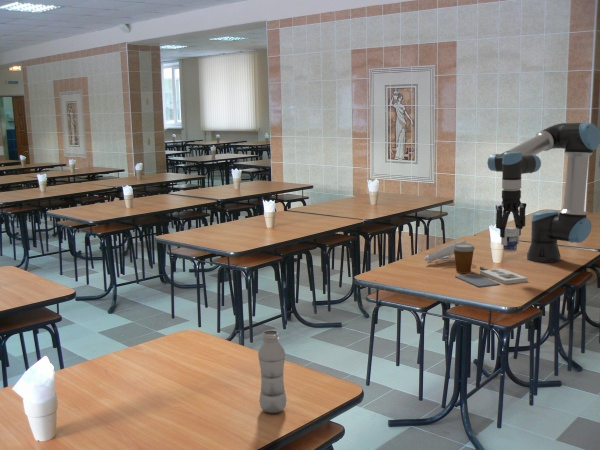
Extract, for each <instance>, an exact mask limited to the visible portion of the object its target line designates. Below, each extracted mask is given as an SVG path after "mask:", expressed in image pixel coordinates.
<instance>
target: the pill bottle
mask: <svg viewBox="0 0 600 450" xmlns="http://www.w3.org/2000/svg"><path fill="white" fill-rule="evenodd" d="M505 230H507V246H505V245H502V246H503V248H502V249H503V251H504V252H507V253H508V252H509V253H513V252H516V251H517V249H518V244H517V234H516V233H515V231H516V227H511V226H509V227H507V226H506V229H505Z"/></svg>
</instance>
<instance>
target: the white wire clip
mask: <svg viewBox="0 0 600 450" xmlns="http://www.w3.org/2000/svg"><path fill="white" fill-rule="evenodd" d="M458 243H467V241H466V240H465V239H463V240H461V241H458V242H456V241H454V242H452V243H449V244H447V245H444V246H442V247H440V248H438V249H436V250H435V251H432V252H430V253H428V254H427V255H426V256H424V259H423V260H424V261H425V262H427V263H429V264H430V263H432V262H434V261H436V260H439V261H436V263H435V265H436V266H437V265H438V264H441V263H442V262H453V263H455V258H450V257H452V256H453V255H454V249H453V247H454V244H458Z"/></svg>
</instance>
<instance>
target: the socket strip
mask: <svg viewBox="0 0 600 450" xmlns="http://www.w3.org/2000/svg"><path fill="white" fill-rule="evenodd" d="M479 269H480V270H479V272H480V273H479V274H480V276H482V277H485V278H487V279H490V280H492V281H495V282H497V283H501V284H504V285H508V284H509V285H510V284H511V285H512V284H518V283H519V284H520V283H526V282H528V277H526V276H524V275H522V274H518V273H515V272H513V271H511V270H508V269H504V268H494V269H493V268H492V269H488V268H486V267H483V266H479Z"/></svg>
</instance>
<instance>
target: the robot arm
mask: <svg viewBox="0 0 600 450" xmlns="http://www.w3.org/2000/svg"><path fill="white" fill-rule="evenodd" d="M599 145H600V131H599V128H598V127H597V125H595V124H594V123H591V122H590V123H589V122H562V123H557V124H553V125H552V126H548V127H545V128H544V129H542V130H540V131H538V132H537V133H536V134H535V136H534V137H533V136H532V138H530V139H527V140H526V141H523V142H522V143H519V144H518V145H516V146H514V147H512V148H510V149H508V150H505V151H504V152H502V153H494V154H490V155H489V156H488V159H487V163H486V164H487V167H488V170H490V171H492V172H497V173H500V172H501V173H502V176H501V177H502V180H501V189H502V190H501V199H502V201H501V203H500V204H496V205H495V209H496V214H495V228H496V229H499V237H500V238H501V239H500V240H501V241H500V243H501V245H502V246H503V245H505V246H507V230H506V228H507V224H508V222H509V216H510V215H511V213H512V216H513V221H514V225H515V228H516V231H515V233H516V234H517V245H520V236H521V235H522V231H521V230H522V229H523V228H524V227H526V209H527V203H525V202H521V199H522V190H521V189H522V174H523V175H524V174H533V173H535V172H536V173H537V172H538V171H539V170H540V168H541V167H542V160H541V158H540V157H539V156H538V154H539V153H542V152H548V151H550V150H554V149H564V153H565V155H566V156H567V164H566V175H565V185H564V186H565V187H564V197H563V208H562V209H560V210H559V211H558V210H547V211H539V212H534V213H533V214H532V216H531V233H530V234H531V237H530V238H531V239H530V245H529V247H528V251H527V253H526V259H527V260H528V261H531V262H535V263H536V262H537V263H557V262H560V261H561V259H562V257H561V253H560V249H559V246H558V241H563V242H568V243H569V242H570V243H572V244H573V243H576V244H581V243H583V242H585V241H586V240H587V238H588V237H589V236H590V233H591V231H592V221H591V220H590V219H589V218H587V216H588V214H587V212H586V211H585V210H584V209H585V198H586V188H587V179H588V168H589V157H590V156H592V155H593V154H594V150H596V149H597V148H598V147H599Z"/></svg>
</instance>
